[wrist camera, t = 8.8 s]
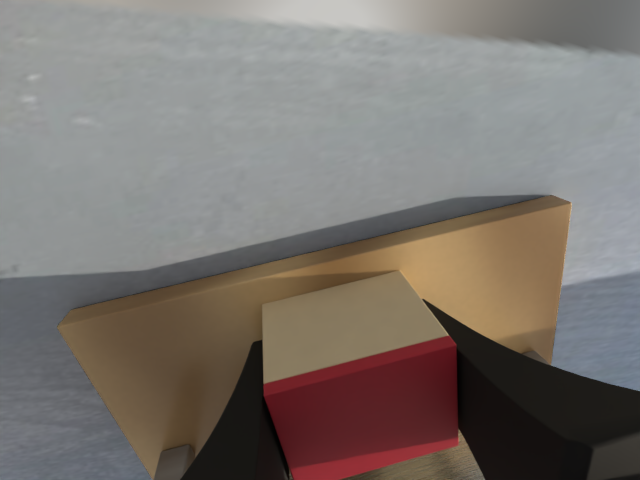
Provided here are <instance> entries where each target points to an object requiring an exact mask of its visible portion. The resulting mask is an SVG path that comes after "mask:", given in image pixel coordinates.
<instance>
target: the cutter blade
mask: <svg viewBox="0 0 640 480" xmlns="http://www.w3.org/2000/svg"><path fill="white" fill-rule="evenodd" d="M458 440H459V445H458V446H455V447H451V448H448V449H444V450H441V451H437V452H434V453H430V454H427V455H423V456H420V457H416V458H413V459H409V460H406V461H402V462H399V463H395V464H392V465H388V466H385V467H381V468H378V469H374V470H371V471H368V472H364V473H361V474H357V475H354V476H350V477H347V478H343V479H340V480H485V478H484V476H483V474H482V472H481V470H480V468H479V466H478V464H477V462H476V460H475V458H474V456H473V454H472V452H471V450H470V448H469V446H468V444H467V442H466V441H465V439H464V437H463V435H462V433H461V432H460V430H459V428H458ZM289 479H290V480H293V478H292V475H291V472H290V469H289Z"/></svg>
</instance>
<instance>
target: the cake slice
mask: <svg viewBox="0 0 640 480" xmlns="http://www.w3.org/2000/svg"><path fill="white" fill-rule="evenodd" d="M262 337H263V383H264V386H263V388H264V398H265V401H266V404H267V407H268V410H269V412H270V415H271V418H272V421H273V424H274V427H275V430H276V432H277V435H278V438H279V441H280V444H281V447H282V449H283V452H284V455H285V458H286V461H287V464H288V466H289V469H290V472H291V475H292V478H293V480H340V479H343V478H347V477H350V476H354V475H357V474H361V473H364V472H368V471H371V470H374V469H378V468H381V467H385V466H388V465H392V464H395V463H399V462H402V461H406V460H409V459H413V458H416V457H420V456H423V455H427V454H430V453H434V452H437V451H441V450H444V449H448V448H451V447H455V446H458V445H459V440H458V394H457V348H456V344H455V342H454V341H453V340H452V338H451V337H450V336H449V335H448V333H447V332H446V331H445V329H444V328H443V327H442V325H441V324H440V323H439V321H438V320H437V319H436V317H435V316H434V315H433V313H432V312H431V311H430V309H429V308H428V307H427V306H426V304H425V303H424V302H423V300H422V299H421V298H420V296H419V295H418V294H417V292H416V291H415V290H414V288H413V287H412V286H411V285H410V283H409V282H408V281H407V279H406V278H405V277H404V275H403V274H402V273H401V271H395V272H391V273H387V274H383V275H379V276H375V277H370V278H366V279H362V280H358V281H354V282H350V283H346V284H342V285H338V286H334V287H330V288H326V289H322V290H318V291H314V292H310V293H306V294H302V295H298V296H293V297H289V298H285V299H281V300H277V301H273V302H269V303H265V304H262Z"/></svg>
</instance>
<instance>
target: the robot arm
mask: <svg viewBox="0 0 640 480" xmlns="http://www.w3.org/2000/svg"><path fill="white" fill-rule="evenodd" d="M422 300H423V302H424V303H425V304H426V306H427V307H428V308H429V309H430V311H431V312H432V313H433V315H434V316H435V317H436V319H437V320H438V321H439V323H440V324H441V325H442V327H443V328H444V329H445V331H446V332H447V333H448V335H449V336H450V337H451V338H452V340H453V341H454V342H455V344H456V348H457V394H458V428H459V430H460V432H461V433H462V435H463V437H464V439H465V441H466V442H467V444H468V446H469V448H470V450H471V452H472V454H473V456H474V458H475V460H476V462H477V464H478V466H479V468H480V470H481V472H482V474H483V476H484V478H485V480H640V391H636V390H632V389H628V388H624V387H619V386H615V385H611V384H607V383H604V382H600V381H597V380H594V379H590V378H587V377H583V376H580V375H577V374H574V373H571V372H568V371H565V370H562V369H559V368H556V367H553V366H551V365H548V364H545V363H542V362H540V361H537V360H535V359H532V358H530V357H527V356H525V355H523V354H521V353H518V352H516V351H514V350H512V349H509V348H507V347H505V346H503V345H501V344H499V343H497V342H495V341H493V340H491V339H489V338H487V337H485V336H483V335H482V334H480V333H478V332H476V331H474V330H473V329H471V328H469V327H468V326H466V325H464V324H462V323H461V322H459V321H457V320H456V319H454V318H453V317H451V316H450V315H448V314H446V313H445V312H443V311H442V310H440V309H439V308H437V307H435V306H434V305H432V304H431V303H429V302H428V301H426V300H425V299H422ZM263 386H264V383H263V340H259V341H255V342H253V343H252V345H251V348H250V351H249V354H248V357H247V359H246V362H245V365H244V367H243V370H242V372H241V375H240V377H239V379H238V382H237V384H236V386H235V389H234V391H233V393H232V395H231V397H230V399H229V401H228V403H227V405H226V407H225V409H224V411H223V413H222V415H221V417H220V419H219V421H218V422H217V424H216V426H215V428H214V429H213V431H212V433H211V434H210V436H209V438H208V439H207V441H206V443H205V444H204V446H203V447H202V449H201V450H200V452H199V453H198V455H197V456H196V458H195V459H194V461H193V462H192V464H191V465H190V467H189V468H188V469H187V471H186V472H185V474H184V475H183V476H182V478H181V479H180V480H290V479H289V466H288V464H287V461H286V458H285V455H284V452H283V449H282V447H281V444H280V441H279V438H278V435H277V432H276V430H275V427H274V424H273V421H272V418H271V415H270V412H269V410H268V407H267V404H266V401H265V398H264V388H263Z"/></svg>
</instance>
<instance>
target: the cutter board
mask: <svg viewBox="0 0 640 480" xmlns="http://www.w3.org/2000/svg"><path fill="white" fill-rule="evenodd" d="M571 207H572V203H571V202H569V201H566V200H564V199H561V198H558V197H556V196H553V195H550V196H546V197H541V198H537V199H533V200H529V201H525V202H520V203H516V204H512V205H508V206H504V207H500V208H495V209H491V210H487V211H483V212H479V213H474V214H470V215H466V216H462V217H458V218H453V219H449V220H445V221H441V222H437V223H433V224H428V225H424V226H420V227H416V228H412V229H407V230H403V231H399V232H395V233H391V234H387V235H382V236H378V237H374V238H370V239H366V240H361V241H357V242H353V243H349V244H345V245H340V246H336V247H332V248H328V249H324V250H320V251H315V252H311V253H307V254H303V255H299V256H294V257H290V258H286V259H282V260H278V261H273V262H269V263H265V264H261V265H257V266H253V267H248V268H244V269H240V270H236V271H232V272H227V273H223V274H219V275H215V276H211V277H207V278H202V279H198V280H194V281H190V282H186V283H181V284H177V285H173V286H169V287H165V288H160V289H156V290H152V291H148V292H144V293H140V294H135V295H131V296H127V297H123V298H119V299H114V300H110V301H106V302H102V303H98V304H93V305H89V306H85V307H81V308H77V309H73V310H70V311H69V313H68V314H67V315H66V316H65V318H64V319H63V320H62V321H61V322H60V324H59V325H58V326H57V329H58V330H59V332H60V334H61V335H62V337H63V338H64V340H65V341H66V343H67V345H68V346H69V348H70V349H71V351H72V353H73V354H74V356H75V357H76V359H77V361H78V362H79V364H80V365H81V367H82V368H83V370H84V372H85V373H86V375H87V376H88V378H89V380H90V381H91V383H92V384H93V386H94V387H95V389H96V391H97V392H98V394H99V395H100V397H101V399H102V400H103V402H104V403H105V405H106V407H107V408H108V410H109V411H110V413H111V414H112V416H113V418H114V419H115V421H116V422H117V424H118V426H119V427H120V429H121V430H122V432H123V433H124V435H125V437H126V438H127V440H128V441H129V443H130V445H131V446H132V448H133V449H134V451H135V452H136V454H137V456H138V457H139V459H140V460H141V462H142V464H143V465H144V467H145V468H146V470H147V472H148V473H149V475H150V476H151V478H152V479H153V480H180V479H181V478H182V476H183V475H184V474H185V472H186V471H187V469H188V468H189V467H190V465H191V464H192V462H193V461H194V459H195V458H196V456H197V455H198V453H199V452H200V450H201V449H202V447H203V446H204V444H205V443H206V441H207V439H208V438H209V436H210V434H211V433H212V431H213V429H214V428H215V426H216V424H217V422H218V421H219V419H220V417H221V415H222V413H223V411H224V409H225V407H226V405H227V403H228V401H229V399H230V397H231V395H232V393H233V391H234V389H235V386H236V384H237V382H238V379H239V377H240V375H241V372H242V370H243V367H244V365H245V362H246V359H247V357H248V354H249V351H250V348H251V345H252V343H253V342H255V341H259V340H263V337H262V304H265V303H269V302H273V301H277V300H281V299H285V298H289V297H293V296H298V295H302V294H306V293H310V292H314V291H318V290H322V289H326V288H330V287H334V286H338V285H342V284H346V283H350V282H354V281H358V280H362V279H366V278H370V277H375V276H379V275H383V274H387V273H391V272H395V271H401V273H402V274H403V275H404V277H405V278H406V279H407V281H408V282H409V283H410V285H411V286H412V287H413V288H414V290H415V291H416V292H417V294H418V295H419V296H420V298H421V299H425V300H426V301H428V302H429V303H431V304H432V305H434V306H435V307H437V308H439V309H440V310H442V311H443V312H445V313H446V314H448V315H450V316H451V317H453V318H454V319H456V320H457V321H459V322H461V323H462V324H464V325H466V326H468V327H469V328H471V329H473V330H474V331H476V332H478V333H480V334H482V335H483V336H485V337H487V338H489V339H491V340H493V341H495V342H497V343H499V344H501V345H503V346H505V347H507V348H509V349H512V350H514V351H516V352H518V353H521V354H523V355H525V356H527V357H530V358H532V359H535V360H537V361H540V362H542V363H545V364H548V365H551V360H552V353H553V345H554V337H555V330H556V322H557V314H558V307H559V299H560V291H561V284H562V276H563V268H564V261H565V253H566V245H567V238H568V230H569V222H570V215H571Z"/></svg>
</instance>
